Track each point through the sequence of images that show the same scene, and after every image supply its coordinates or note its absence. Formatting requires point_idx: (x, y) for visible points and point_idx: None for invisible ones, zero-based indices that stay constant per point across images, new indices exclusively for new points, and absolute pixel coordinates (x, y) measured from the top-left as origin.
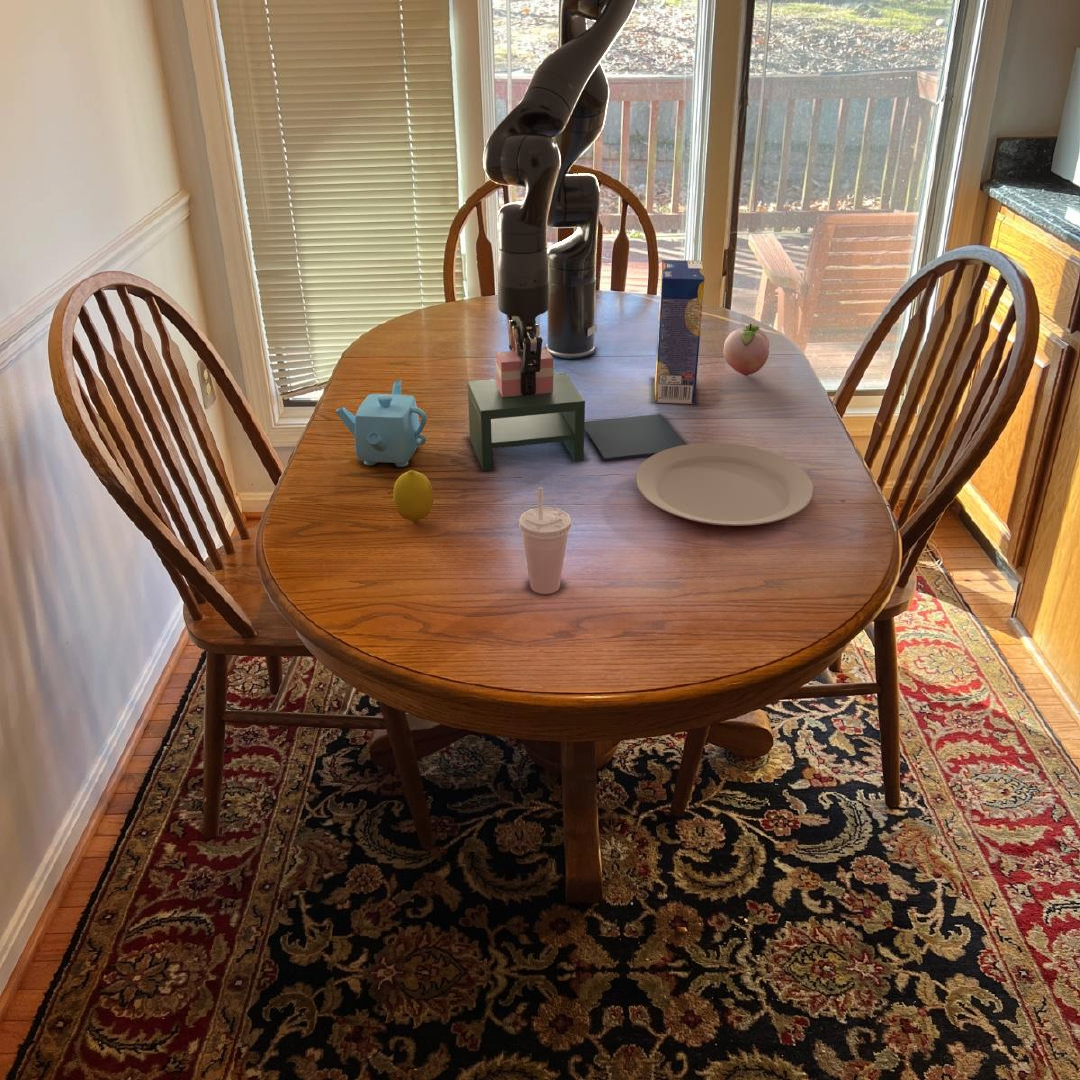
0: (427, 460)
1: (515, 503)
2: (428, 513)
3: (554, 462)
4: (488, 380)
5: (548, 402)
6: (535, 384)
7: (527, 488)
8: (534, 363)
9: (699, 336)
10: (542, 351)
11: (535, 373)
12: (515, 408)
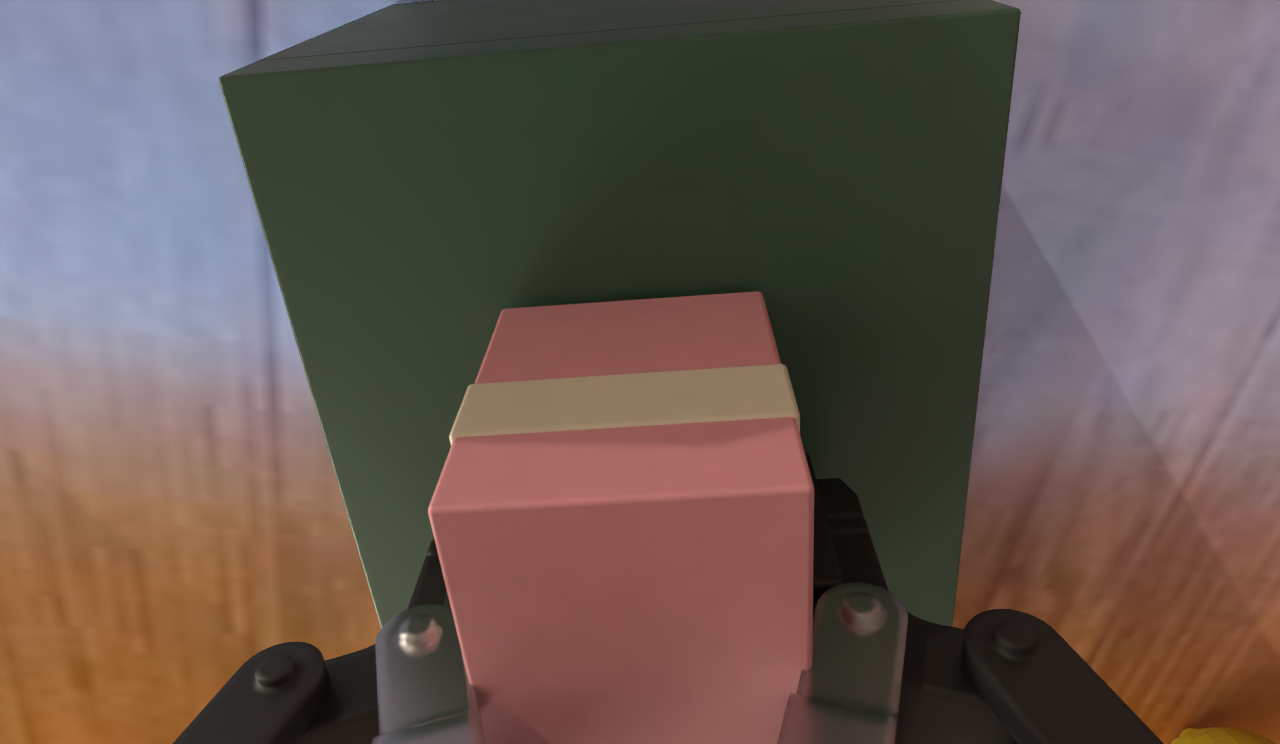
0: None
1: (1220, 401)
2: (1247, 731)
3: None
4: None
5: (944, 352)
6: (820, 499)
7: (1097, 332)
8: (903, 679)
9: None
10: (551, 569)
11: (839, 571)
12: (956, 576)
